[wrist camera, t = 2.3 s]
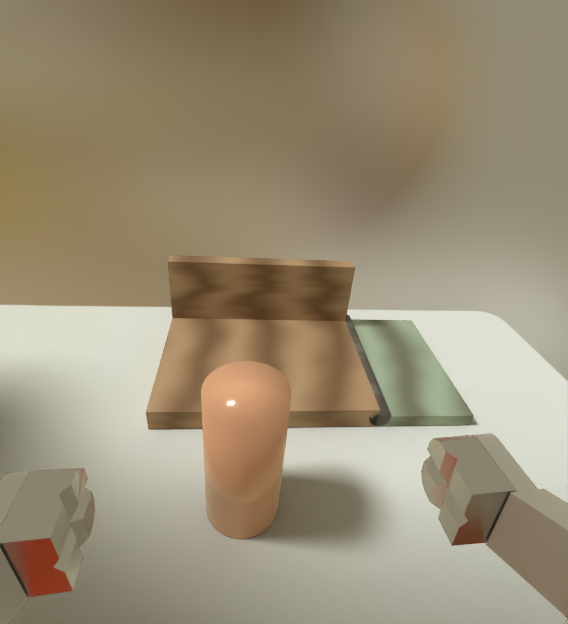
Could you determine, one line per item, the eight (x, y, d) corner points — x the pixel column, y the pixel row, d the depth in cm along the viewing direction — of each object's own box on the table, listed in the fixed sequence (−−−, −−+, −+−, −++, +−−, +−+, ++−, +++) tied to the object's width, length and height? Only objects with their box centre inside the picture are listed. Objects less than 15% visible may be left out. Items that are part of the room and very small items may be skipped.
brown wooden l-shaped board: (148, 429, 34) (135, 343, 29) (175, 325, 47) (170, 255, 43) (469, 424, 37) (504, 347, 32) (409, 328, 51) (427, 263, 46)
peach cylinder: (203, 540, 26) (196, 424, 21) (208, 472, 31) (204, 360, 25) (281, 537, 27) (296, 423, 21) (275, 470, 31) (287, 361, 26)
